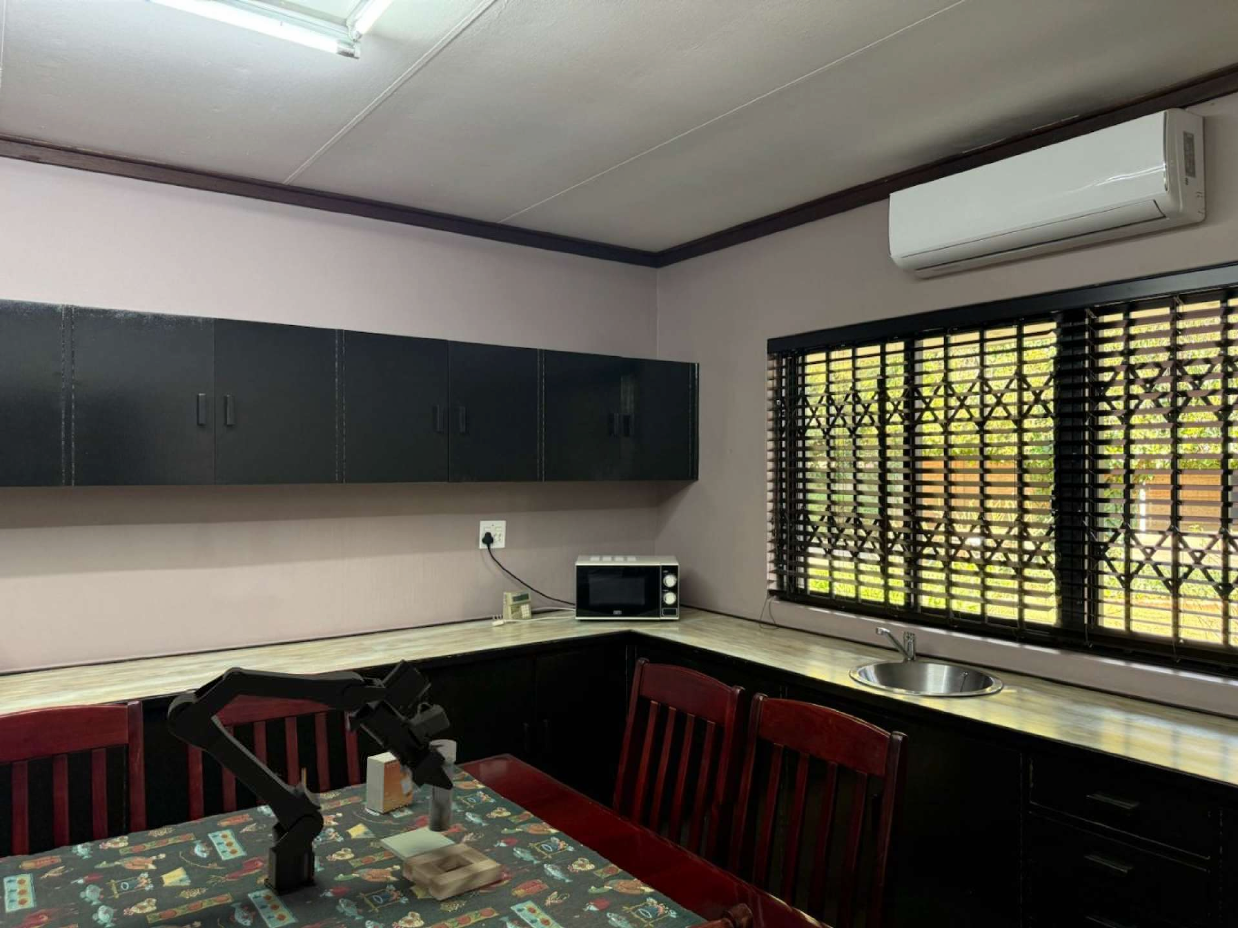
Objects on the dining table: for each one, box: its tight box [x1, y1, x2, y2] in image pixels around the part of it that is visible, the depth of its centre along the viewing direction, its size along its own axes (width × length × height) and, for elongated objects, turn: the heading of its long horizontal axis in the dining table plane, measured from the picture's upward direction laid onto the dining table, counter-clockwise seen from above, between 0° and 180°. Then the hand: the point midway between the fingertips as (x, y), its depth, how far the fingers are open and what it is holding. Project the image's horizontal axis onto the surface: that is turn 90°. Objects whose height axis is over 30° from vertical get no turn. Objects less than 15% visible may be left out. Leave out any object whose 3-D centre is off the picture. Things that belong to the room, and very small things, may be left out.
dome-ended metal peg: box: [427, 739, 457, 833], centre depth 161 cm, size 5×5×15 cm
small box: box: [365, 751, 414, 814], centre depth 187 cm, size 8×6×10 cm
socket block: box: [402, 842, 502, 901], centre depth 154 cm, size 12×12×2 cm
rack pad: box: [379, 826, 456, 862], centre depth 166 cm, size 10×10×1 cm
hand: (448, 783), depth 161 cm, fingers closed on dome-ended metal peg, 4 cm apart
